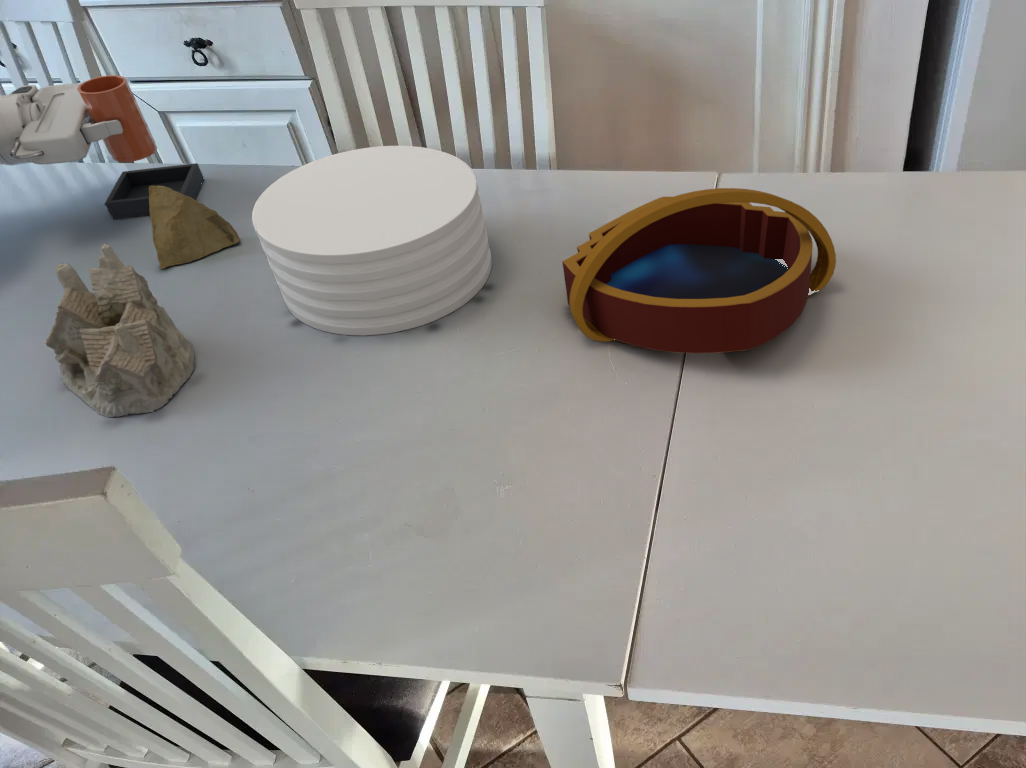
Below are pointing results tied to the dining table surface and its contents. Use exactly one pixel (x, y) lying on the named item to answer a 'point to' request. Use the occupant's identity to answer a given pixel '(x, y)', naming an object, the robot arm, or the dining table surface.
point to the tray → (134, 188)
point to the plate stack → (375, 239)
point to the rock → (185, 227)
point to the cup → (113, 101)
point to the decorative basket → (698, 272)
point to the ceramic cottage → (117, 340)
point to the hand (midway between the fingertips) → (125, 114)
